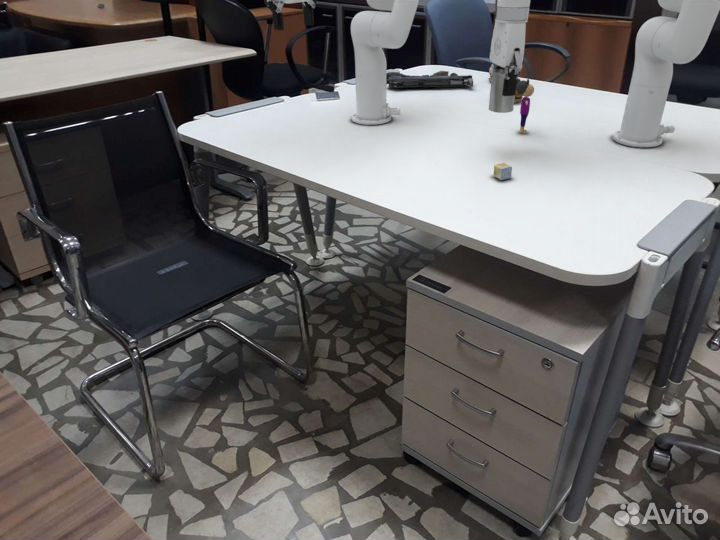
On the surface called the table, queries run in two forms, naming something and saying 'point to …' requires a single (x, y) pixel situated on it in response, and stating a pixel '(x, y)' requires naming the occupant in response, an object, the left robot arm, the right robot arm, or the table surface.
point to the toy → (524, 100)
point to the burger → (517, 97)
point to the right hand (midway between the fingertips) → (503, 91)
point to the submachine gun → (428, 80)
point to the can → (499, 93)
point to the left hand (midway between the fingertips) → (294, 27)
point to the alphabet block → (502, 171)
